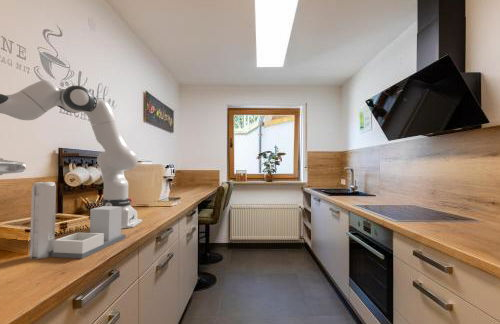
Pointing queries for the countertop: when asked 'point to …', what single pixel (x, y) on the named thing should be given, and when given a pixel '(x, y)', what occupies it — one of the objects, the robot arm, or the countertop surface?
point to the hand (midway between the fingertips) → (11, 167)
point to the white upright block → (42, 219)
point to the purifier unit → (92, 234)
